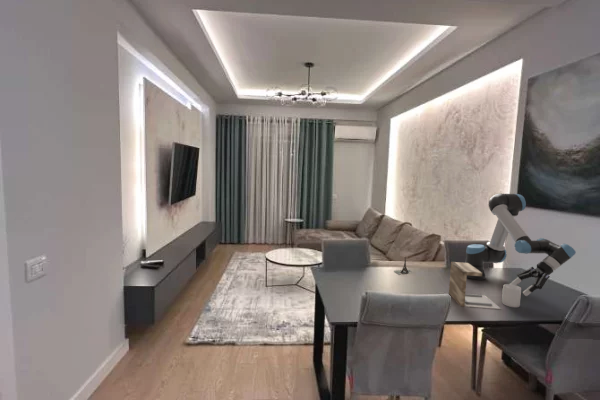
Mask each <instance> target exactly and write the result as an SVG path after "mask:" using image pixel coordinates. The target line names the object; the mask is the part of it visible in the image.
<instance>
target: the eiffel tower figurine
mask: <svg viewBox="0 0 600 400" xmlns="http://www.w3.org/2000/svg"><path fill="white" fill-rule="evenodd" d="M406 258H407V257H406V256H405V257H404V264H403V267H402V269H400V270H399V269H398V270H397V269H396V270H393V273H395V274H397V275H401V276H402V275H403V274H405V275H409V274H410V273H412V270H411V269H408V268H407V263H406V262H407V261H406V260H407V259H406Z"/></svg>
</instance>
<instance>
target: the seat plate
mask: <svg viewBox="0 0 600 400" xmlns="http://www.w3.org/2000/svg"><path fill="white" fill-rule="evenodd" d="M464 307H467V308H477V309H478V308H479V309H492V310H501V307H500V306H498V305H497V303H495V302H494V301H493V300H491V299H490V298H489V297H487V296H486V295H485V294H476V293H465V306H464Z"/></svg>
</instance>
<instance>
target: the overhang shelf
mask: <svg viewBox="0 0 600 400" xmlns="http://www.w3.org/2000/svg"><path fill="white" fill-rule="evenodd" d="M467 275H470V276H482V272H480V271H479V270H478V269H476V268H475V267H473V266H472V265H470V264H469V263H466V262H460V261H458V262H456V261H451V262H450V272H449V285H448V286H449V287H448V294H449V296H450V297H452V298H453V300H454V301H455V302H456V303H457V304H458V306H459V307H463V308H464V307H466V306H465V294H466V292H467V291H466V288H467V279H468V278H467Z"/></svg>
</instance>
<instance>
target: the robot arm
mask: <svg viewBox="0 0 600 400" xmlns="http://www.w3.org/2000/svg"><path fill="white" fill-rule="evenodd" d="M526 201H527V200H526V199H525V197H524V196H523V195H522V194H519V193H496V194H493V195H492V196H491V197H490V198H489V201H488V209H489V210H490V212H491V213H492V215H494V216H496V218H497V221H496V223H495V227H494V230H493V232H492V235H491V238H490V241H487V242H486V244H485V245H484V244H481V243H479V244H475V243H474V244H473V243H472V244H469V245H467V246H466V249H465V250H466V251H465V263H469V264H470V265H472V266H473V267H475V268H476V269H478V270H479V271H480V272H482V276H470V275H467V278H466V279H472V280H479V281H480V280H481V281H482V280H486V272H485V268H484V264H489V263H491V264H499V263H503V262H505V260H506V259H507V250H506V247H505V246H504V245H505V243H506V240H507V237H508V235H509V236H511V238H512V240H514V242H515V243H514V249H515V251H516V252H517V253H519V254H524V255H525V254H526V255H527V254H545V255H547V256H546V257H545V258H543V259H542V261H540V262H538V263H537V264H536V268H534V266H531V267H530V268H528V269H526V270H523V271H522V272H521V271H520V272H519V273H517V274H516V276H517V277H516V278H515V279H513V280H512V281H511V282H510V283H509V284H511V285H516V286H518V285H519V284H520V283H521V282H523V280H526V279H529V278H534V282H533V283H532V284H530V286H528V287H527V288H526V289H524V290H523V291H521V294H523V295H524V296H525V297H528V296H529V295H530V294H532V293H533V292H535V291H536V290H537V289H539V290H542V289H543V288H544V285H545V284H546V283H547V281H548V279H550V277H551V276H550V275H551V274H552V273H554V271H556V270H557V269H559V268H560V267H561V266H562V265H564V264H565V263H566V262H567V261H569V260H570V259H572V257H574V256H575V255H576V250H575V249H574V247H572V246H571V245H570V244H567V243H562V244H560V245H559V244H556V243H555V242H552V241H550V240H549V239H547V238H544V237H540V238H538V239H536V240H532V239H531V237H529V235H528V234H527V233H526V231H525V230H524V229H523V228H522V227H521V225H520V223H518V221H517V220H516V218H515V217H517V216H518V215H519V213H520V212H522V211H524V210H525V209H526V205H527V202H526Z"/></svg>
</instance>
